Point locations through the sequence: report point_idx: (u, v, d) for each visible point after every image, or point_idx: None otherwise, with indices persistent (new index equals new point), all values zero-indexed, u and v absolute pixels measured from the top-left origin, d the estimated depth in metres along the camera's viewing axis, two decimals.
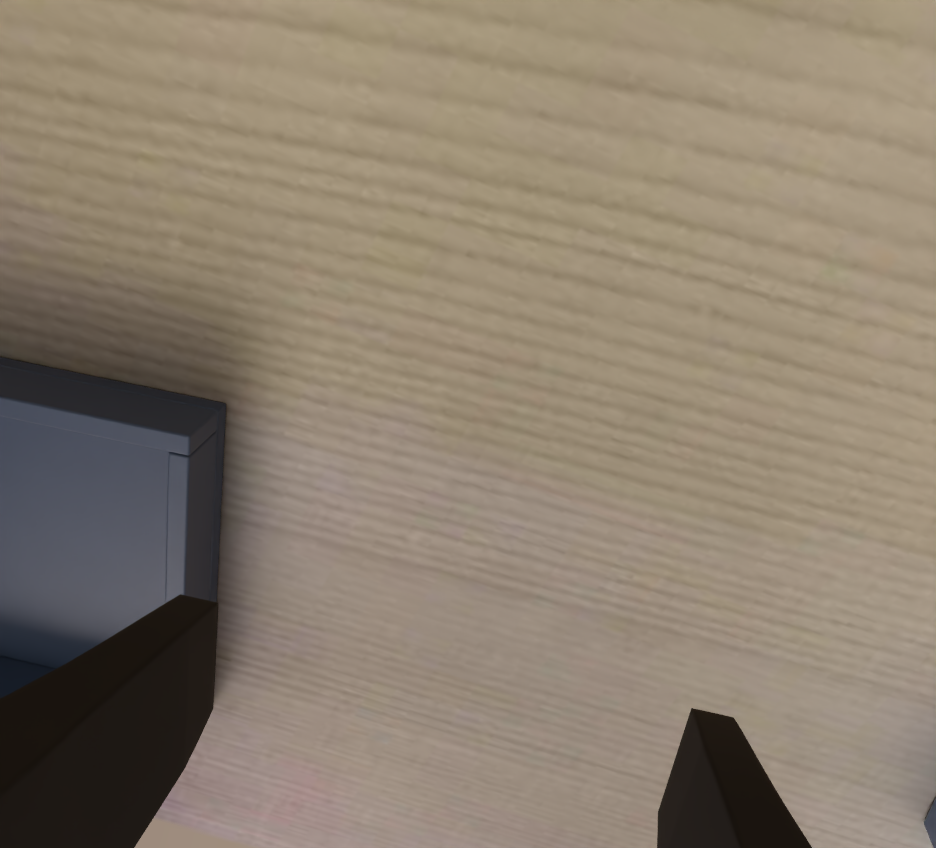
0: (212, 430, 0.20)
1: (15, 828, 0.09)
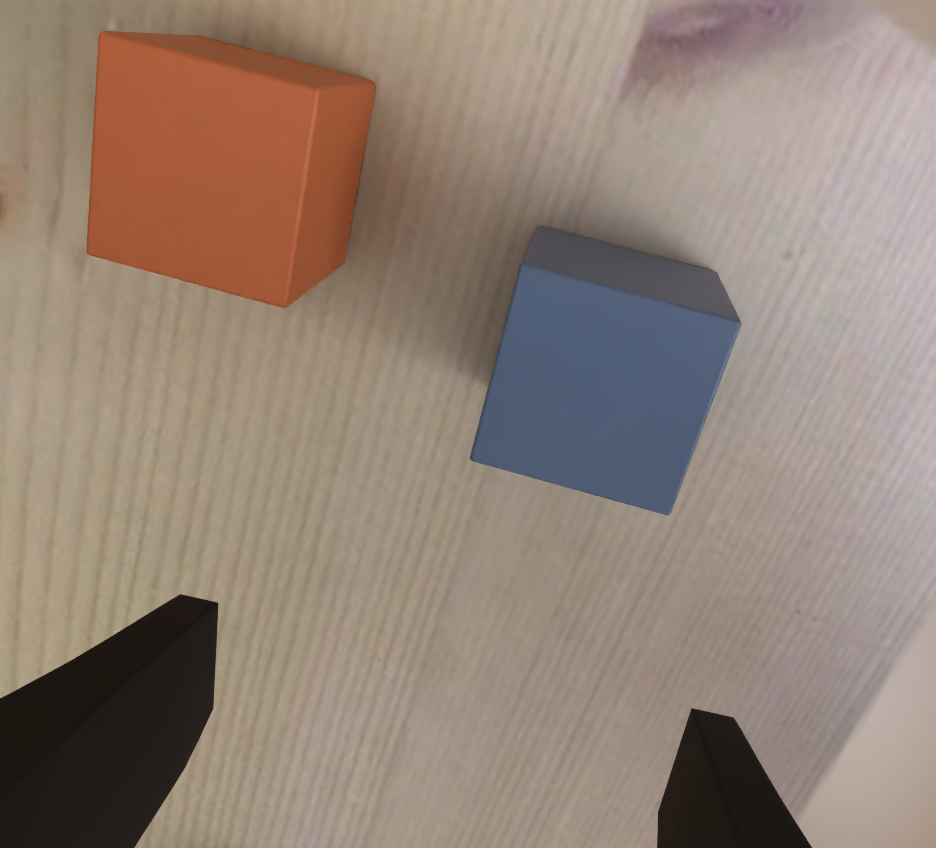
0: None
1: (15, 828, 0.09)
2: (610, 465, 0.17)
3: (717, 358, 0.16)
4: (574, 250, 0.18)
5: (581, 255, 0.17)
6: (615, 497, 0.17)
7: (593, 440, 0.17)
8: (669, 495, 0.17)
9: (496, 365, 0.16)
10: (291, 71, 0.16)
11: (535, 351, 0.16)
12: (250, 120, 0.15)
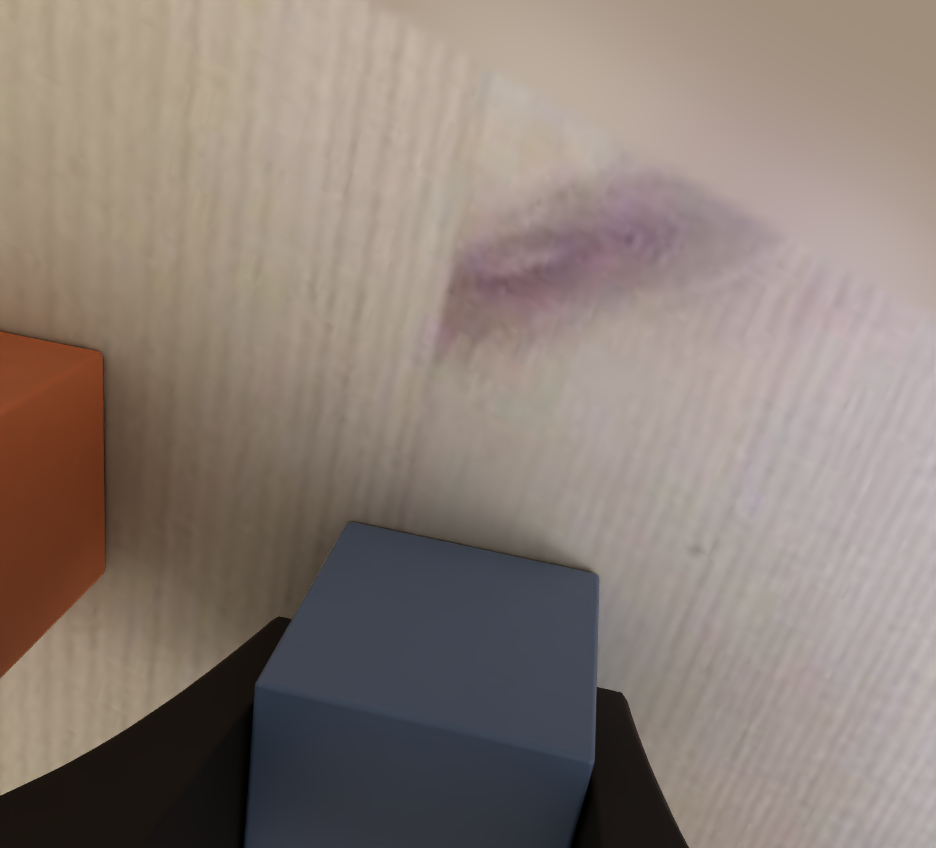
0: None
1: None
2: None
3: (565, 805, 0.10)
4: (375, 591, 0.12)
5: (381, 606, 0.12)
6: None
7: None
8: None
9: (249, 807, 0.11)
10: None
11: (299, 792, 0.11)
12: None
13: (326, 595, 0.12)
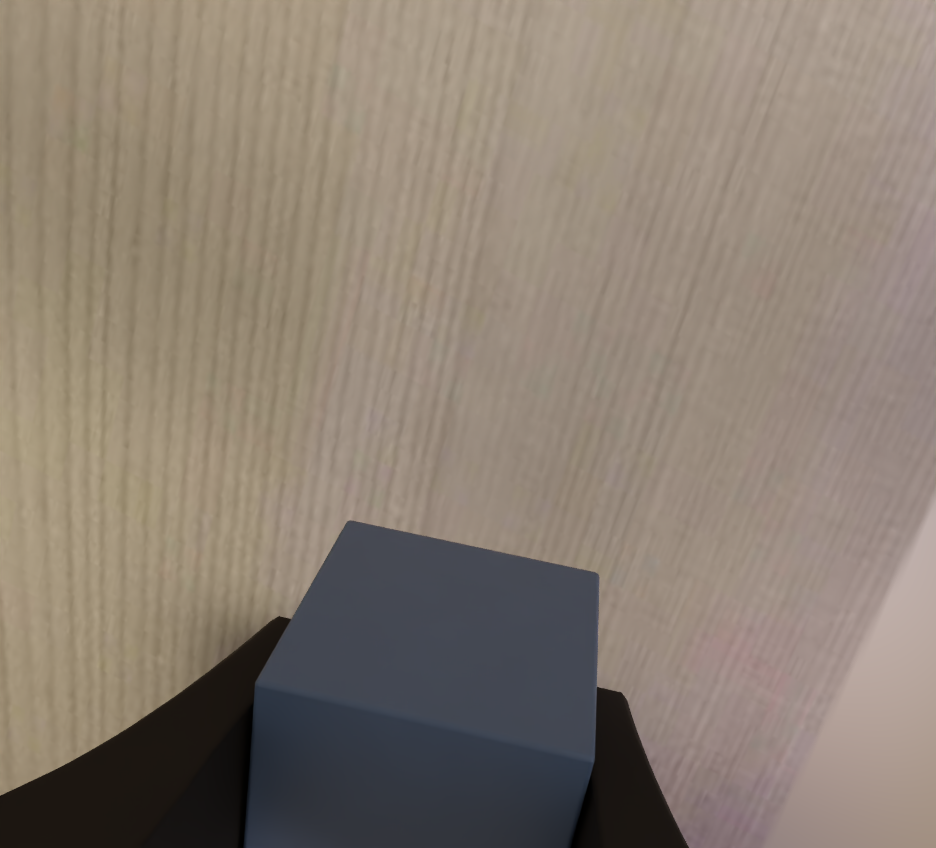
0: None
1: None
2: None
3: (565, 804, 0.10)
4: (376, 590, 0.12)
5: (381, 605, 0.12)
6: None
7: None
8: None
9: (249, 805, 0.11)
10: None
11: (299, 792, 0.11)
12: None
13: (326, 594, 0.12)
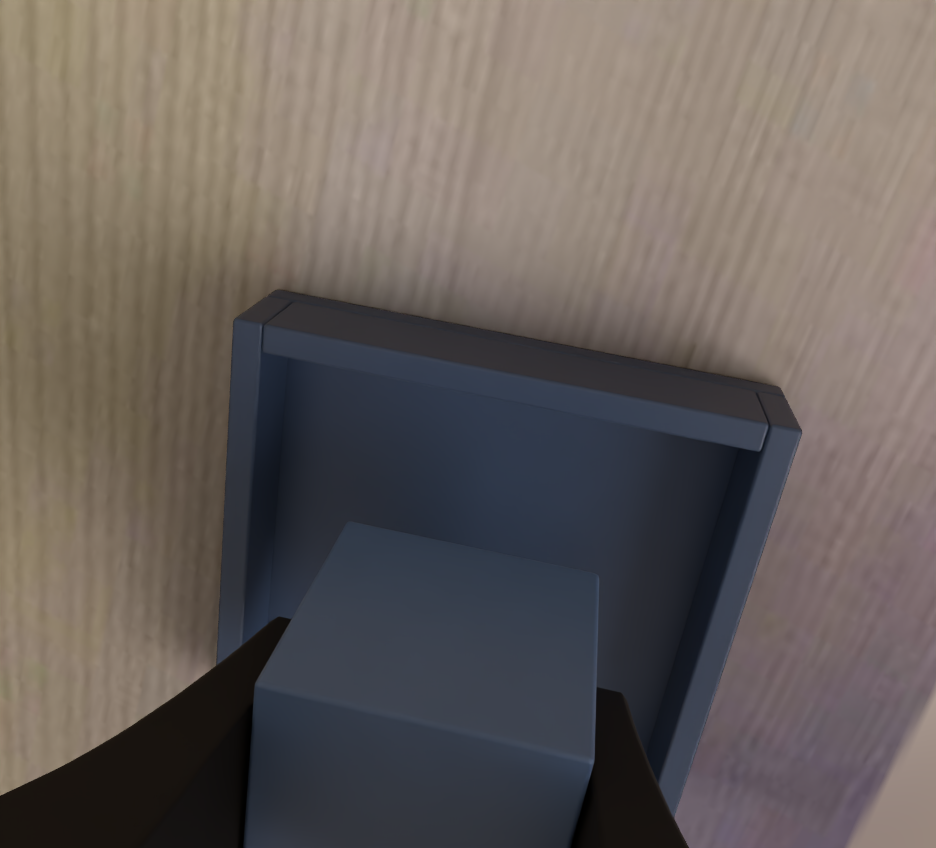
0: (279, 303, 0.15)
1: None
2: None
3: (565, 805, 0.10)
4: (375, 591, 0.12)
5: (380, 606, 0.12)
6: None
7: None
8: None
9: (248, 807, 0.11)
10: None
11: (298, 792, 0.11)
12: None
13: (326, 595, 0.12)
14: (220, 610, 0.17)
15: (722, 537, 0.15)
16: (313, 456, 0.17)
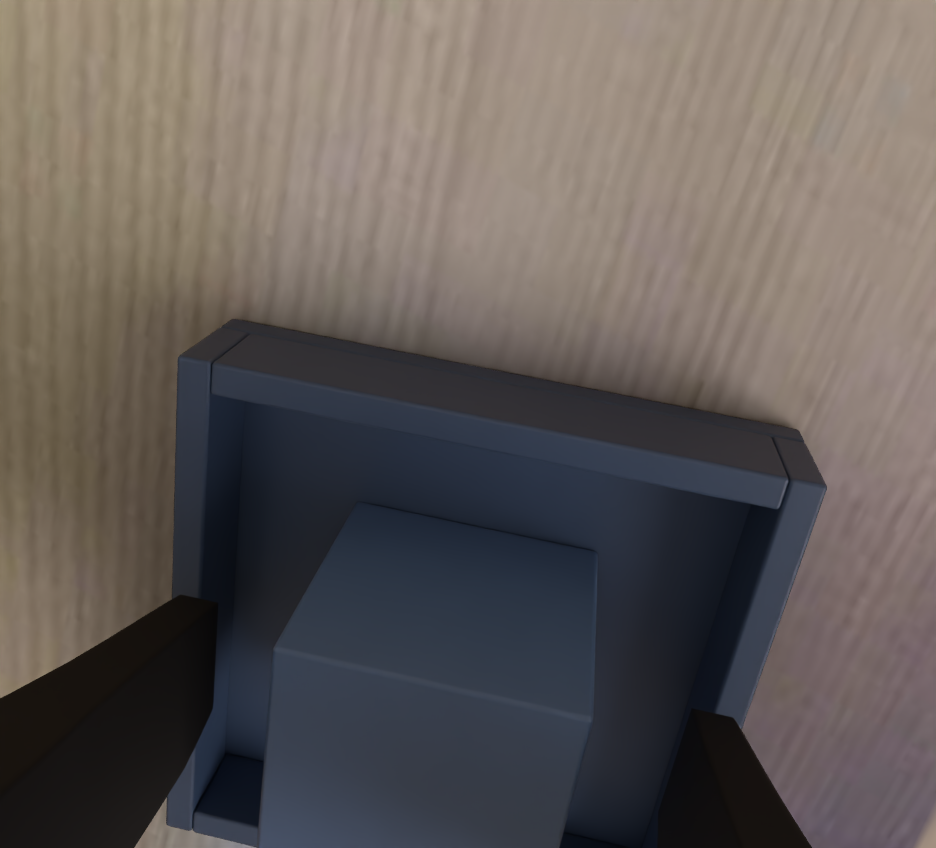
0: (233, 336, 0.13)
1: (15, 828, 0.09)
2: None
3: (566, 763, 0.11)
4: (385, 566, 0.13)
5: (390, 580, 0.13)
6: None
7: None
8: None
9: (266, 767, 0.12)
10: None
11: (313, 754, 0.11)
12: None
13: (338, 569, 0.13)
14: None
15: (733, 599, 0.13)
16: (275, 503, 0.15)
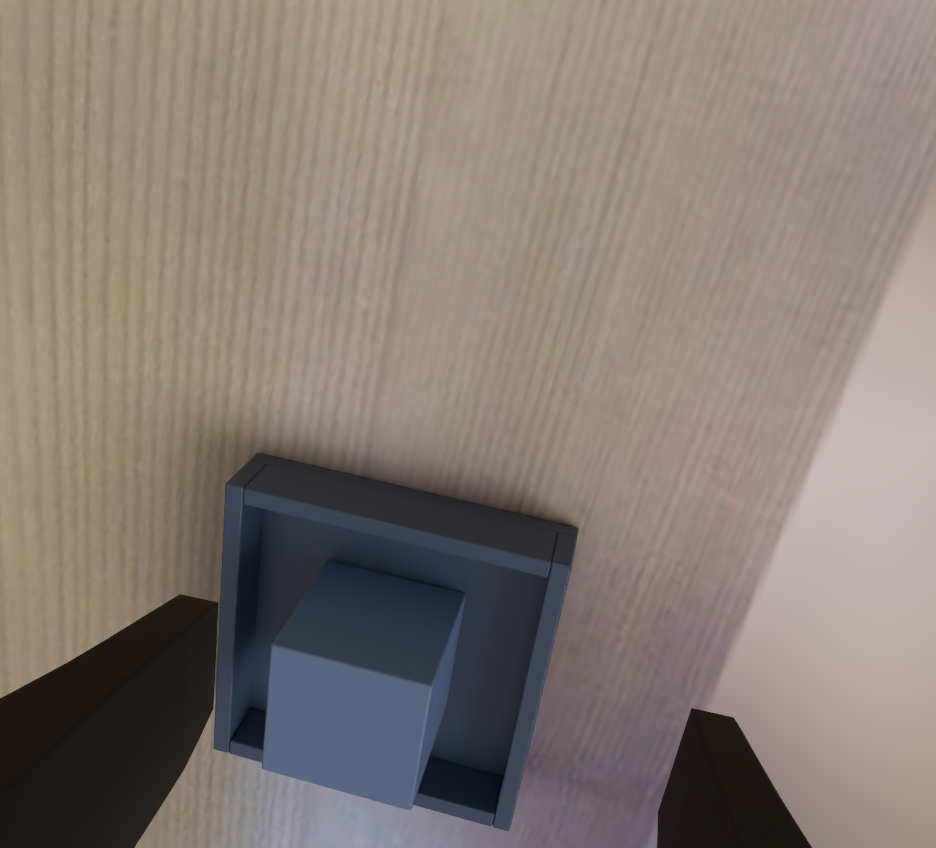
0: (256, 467, 0.24)
1: (15, 828, 0.09)
2: (361, 775, 0.22)
3: (420, 709, 0.21)
4: (337, 600, 0.23)
5: (339, 608, 0.23)
6: (369, 797, 0.22)
7: (345, 759, 0.22)
8: (407, 797, 0.22)
9: (267, 708, 0.22)
10: None
11: (292, 700, 0.22)
12: None
13: (310, 602, 0.23)
14: (218, 659, 0.25)
15: None
16: (281, 559, 0.25)
